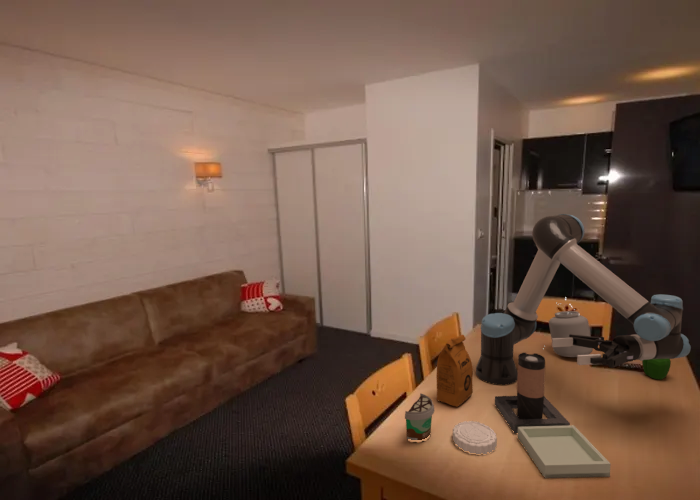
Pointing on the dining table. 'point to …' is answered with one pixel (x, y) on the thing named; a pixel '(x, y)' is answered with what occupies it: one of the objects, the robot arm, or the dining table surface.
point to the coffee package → (454, 373)
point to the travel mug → (530, 386)
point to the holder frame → (514, 422)
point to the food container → (419, 418)
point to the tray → (563, 452)
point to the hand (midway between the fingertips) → (564, 351)
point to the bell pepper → (656, 368)
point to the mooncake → (474, 437)
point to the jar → (569, 331)
